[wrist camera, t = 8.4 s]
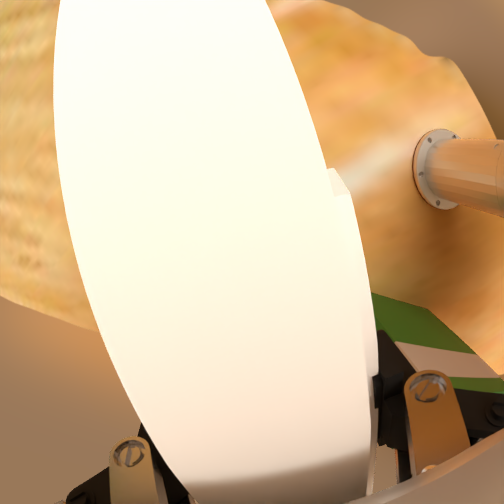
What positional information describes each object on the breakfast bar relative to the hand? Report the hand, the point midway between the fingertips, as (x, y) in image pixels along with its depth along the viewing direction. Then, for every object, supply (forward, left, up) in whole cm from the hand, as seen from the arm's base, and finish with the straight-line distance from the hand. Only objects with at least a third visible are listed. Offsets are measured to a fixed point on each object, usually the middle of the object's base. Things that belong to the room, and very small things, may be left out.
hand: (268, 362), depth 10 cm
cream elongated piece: (0, +1, -4) cm, 4 cm away
